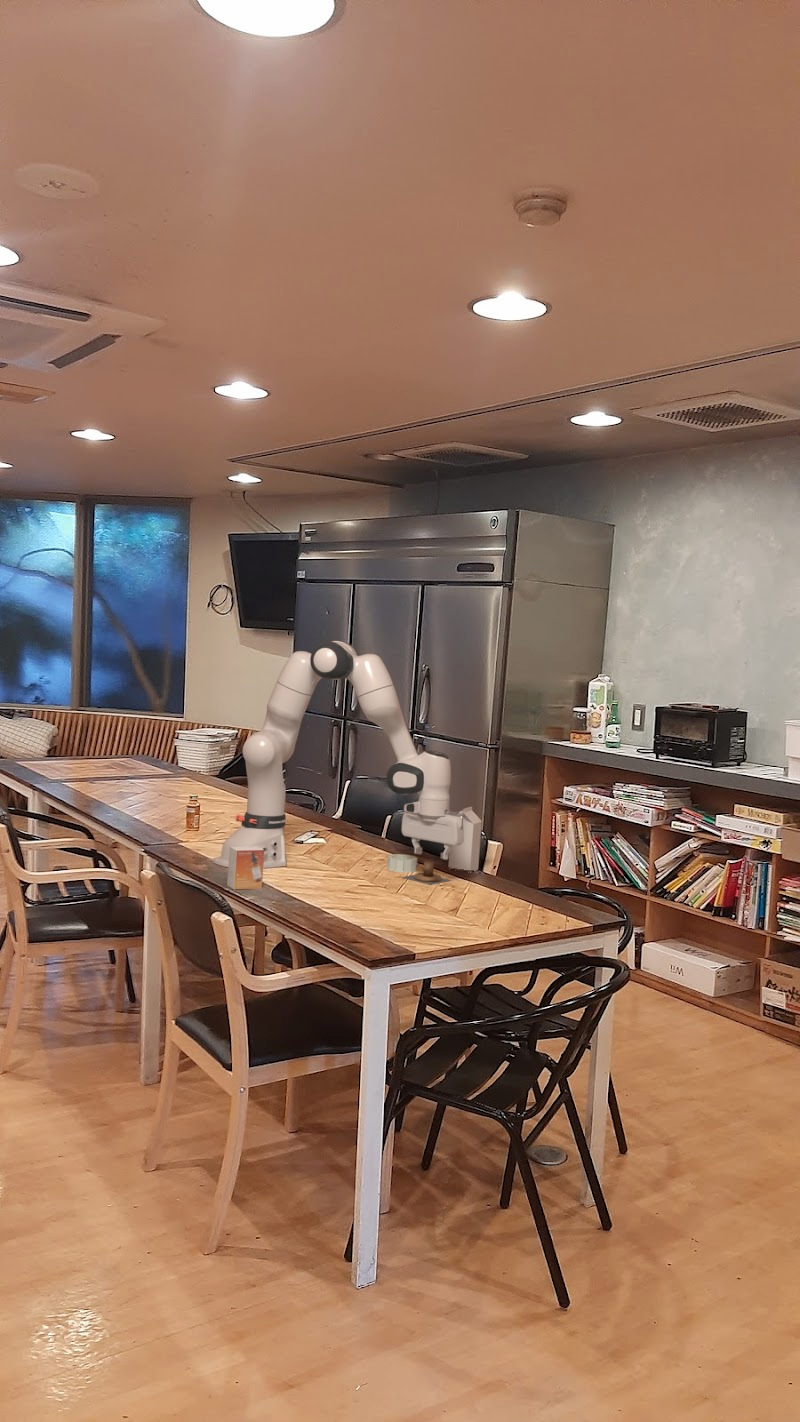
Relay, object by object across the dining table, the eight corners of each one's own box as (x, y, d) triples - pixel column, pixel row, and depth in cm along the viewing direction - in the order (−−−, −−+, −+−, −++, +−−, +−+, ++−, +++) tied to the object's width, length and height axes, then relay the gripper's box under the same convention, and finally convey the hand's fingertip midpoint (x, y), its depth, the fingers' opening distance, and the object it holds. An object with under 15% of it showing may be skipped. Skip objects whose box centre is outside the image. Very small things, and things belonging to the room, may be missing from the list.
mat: (430, 886, 304) (430, 884, 304) (400, 878, 311) (400, 877, 311) (452, 881, 312) (452, 880, 312) (422, 874, 319) (422, 873, 319)
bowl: (403, 875, 317) (404, 861, 316) (381, 869, 322) (382, 856, 322) (422, 871, 323) (423, 858, 323) (399, 866, 329) (400, 853, 328)
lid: (430, 883, 306) (431, 865, 306) (409, 878, 311) (410, 861, 310) (446, 880, 312) (447, 862, 312) (425, 875, 317) (426, 858, 316)
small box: (233, 890, 284) (235, 850, 283) (226, 885, 289) (228, 846, 288) (262, 889, 288) (265, 849, 287) (255, 884, 293) (257, 845, 292)
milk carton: (478, 870, 331) (482, 808, 330) (469, 873, 325) (474, 810, 324) (456, 866, 334) (461, 805, 333) (447, 870, 328) (452, 807, 326)
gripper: (469, 812, 306) (467, 861, 307) (413, 802, 319) (410, 849, 320) (456, 814, 301) (453, 863, 302) (399, 804, 314) (396, 852, 315)
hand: (431, 856), depth 311 cm, fingers open, 8 cm apart
